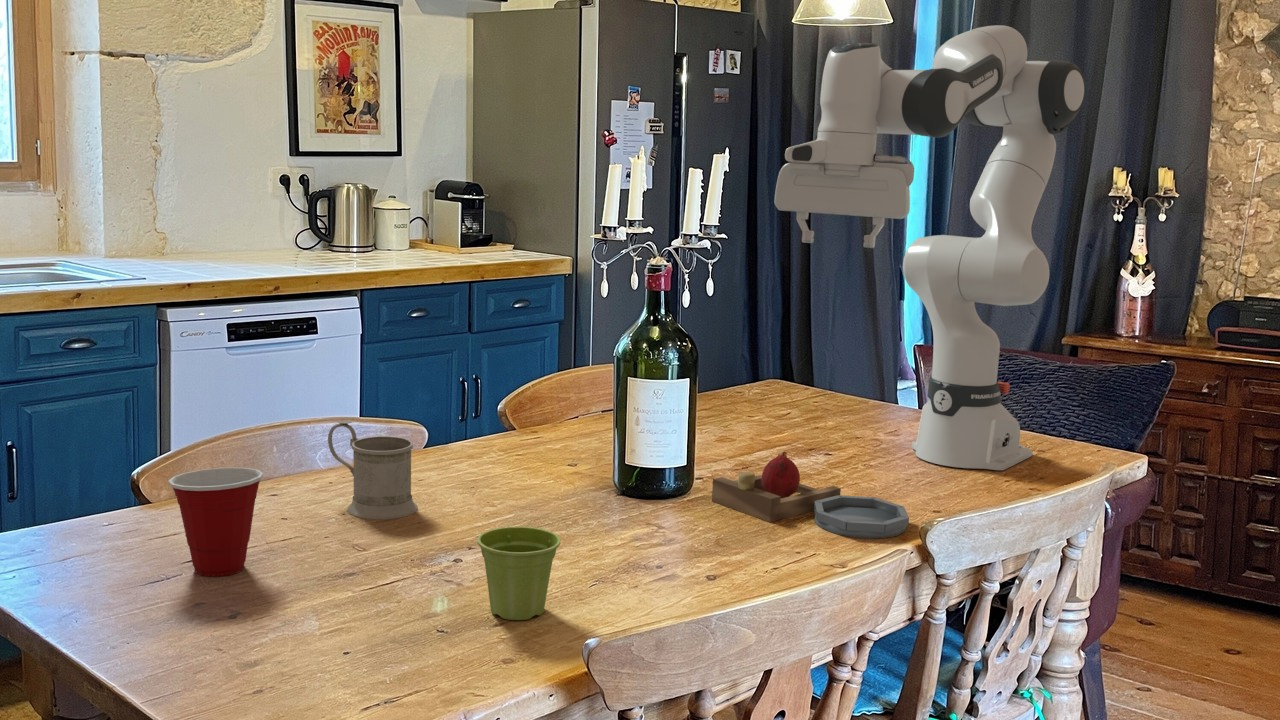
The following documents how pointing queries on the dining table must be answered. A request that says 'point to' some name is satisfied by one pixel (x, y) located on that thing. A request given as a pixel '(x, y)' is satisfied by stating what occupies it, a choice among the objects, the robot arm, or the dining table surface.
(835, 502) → the saucer
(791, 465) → the onion
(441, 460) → the dining table surface
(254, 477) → the plastic cup
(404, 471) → the mug
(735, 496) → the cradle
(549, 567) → the plant pot
